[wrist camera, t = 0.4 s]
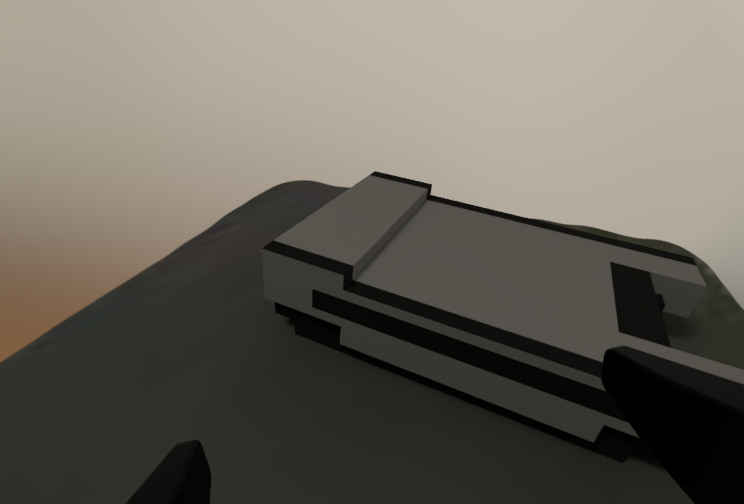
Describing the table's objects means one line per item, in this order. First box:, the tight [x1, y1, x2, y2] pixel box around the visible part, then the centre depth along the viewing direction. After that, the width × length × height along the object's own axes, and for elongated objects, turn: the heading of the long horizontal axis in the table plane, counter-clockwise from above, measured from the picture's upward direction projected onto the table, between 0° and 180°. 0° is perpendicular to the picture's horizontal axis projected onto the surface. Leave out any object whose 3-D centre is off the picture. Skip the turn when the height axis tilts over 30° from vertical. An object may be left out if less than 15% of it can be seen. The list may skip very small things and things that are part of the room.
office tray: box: [262, 171, 744, 463], centre depth 36 cm, size 21×32×8 cm, turn 66°
